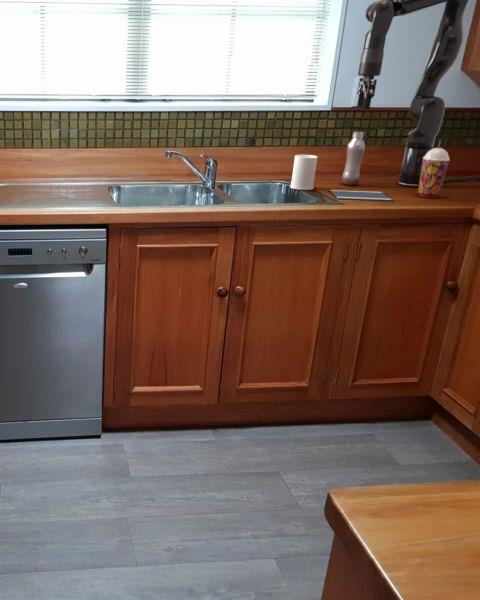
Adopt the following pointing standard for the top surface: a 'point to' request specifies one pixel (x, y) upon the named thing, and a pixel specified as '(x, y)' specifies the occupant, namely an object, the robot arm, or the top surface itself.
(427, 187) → the smoothie
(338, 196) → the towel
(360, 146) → the plastic bottle
